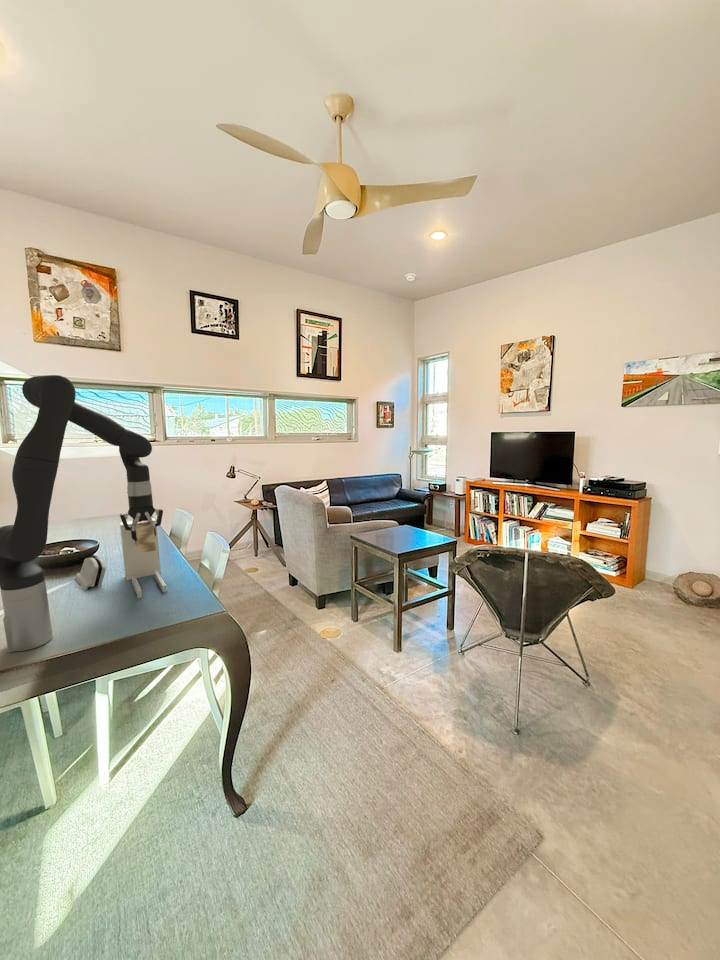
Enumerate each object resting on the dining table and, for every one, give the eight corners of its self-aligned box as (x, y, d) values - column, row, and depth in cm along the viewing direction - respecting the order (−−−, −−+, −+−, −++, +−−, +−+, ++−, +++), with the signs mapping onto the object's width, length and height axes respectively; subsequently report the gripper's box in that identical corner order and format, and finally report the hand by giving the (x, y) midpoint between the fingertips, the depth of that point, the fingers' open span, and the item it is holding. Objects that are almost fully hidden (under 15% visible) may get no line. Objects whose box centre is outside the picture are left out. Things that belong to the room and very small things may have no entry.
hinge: (74, 578, 152) (82, 553, 153) (88, 579, 155) (95, 554, 156) (85, 590, 141) (93, 563, 142) (100, 590, 144) (108, 564, 145)
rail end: (139, 553, 134) (137, 528, 133) (134, 543, 146) (132, 519, 144) (155, 550, 137) (153, 525, 136) (149, 540, 149) (147, 517, 147)
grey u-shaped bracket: (133, 599, 133) (127, 538, 130) (125, 576, 153) (119, 522, 150) (171, 590, 140) (166, 531, 137) (158, 569, 161) (154, 518, 157)
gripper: (117, 497, 131) (122, 545, 134) (163, 492, 139) (167, 537, 142) (115, 494, 137) (120, 540, 140) (160, 489, 145) (164, 533, 148)
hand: (144, 538), depth 141 cm, fingers closed on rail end, 5 cm apart
